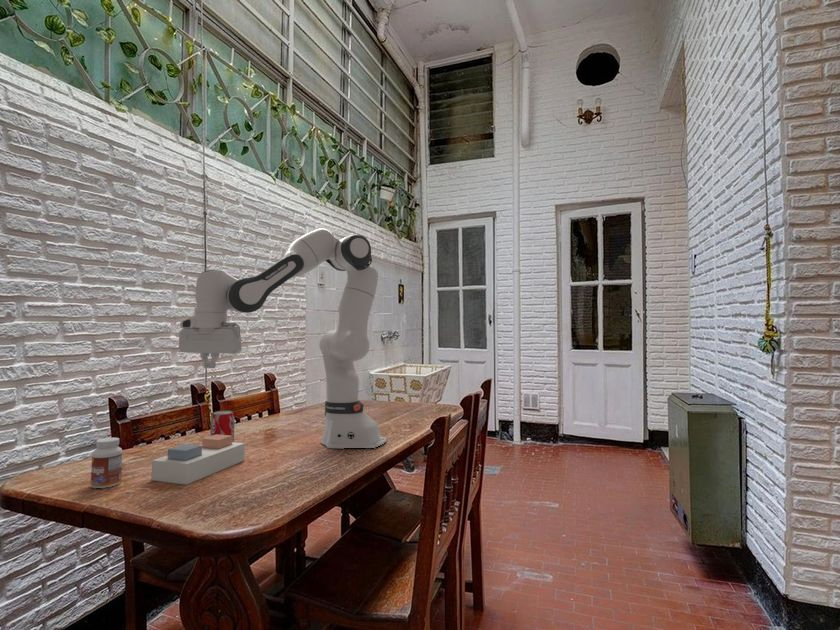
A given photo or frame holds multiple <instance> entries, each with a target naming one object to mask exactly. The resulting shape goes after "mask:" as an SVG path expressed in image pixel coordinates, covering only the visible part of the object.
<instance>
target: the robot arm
mask: <svg viewBox="0 0 840 630" xmlns="http://www.w3.org/2000/svg"><path fill="white" fill-rule="evenodd" d="M371 246H372V245H371V244H370V240H368V238H366V236H364V235H361V234H357V233H356V234H350V235H347V236H346V237H343V238H341V239H339V238H336V237H335V236H334V234H333V233H332V232H331V231H330V230H328V229H327V228H325V227H324V228H323V227H322V228H321V227H319V228H317V229H314V230H312V231H310V232H308V233H305V234H304V235H302V236H301V237H299V238H297V239H295V240H294V241H292V242H291V243H290V244H289V245H288V246H287V247H286V248H285V249H284V250H283V251H282V253H281V254H280V255H281V256H280V257H279V259H278V261H277V262H275V263H274V264H273V265H271V266H269V267H268V268H267V269H264V270H263V271H262V272H261V273H259V274H257V275H256V276H253V277H246V278H241V279H238V278H236V277H234V276H232V275H231V274H229V272H228V273H227V271H226V270H224V269H219V268H218V269H207V270H204V271H202V272H201V273H199V274H198V276H197V278H196V283H195V284H196V285H195V294H194V295H195V297H194V298H195V301H196V307H195V309H194V315H193V316H190V317H189V318H186V319H183V320H181V321H180V323H179V326H180V328H181V329H180V331H179V335H178V336H179V337H178V349H179V351H180V353H189V354H190V353H191V354H192V353H194V354H195V353H197V354H198V353H199V355H200V358H201V361H202V362H203V365H202V367H203V369H215V368H216V366H217V365H216V364H217V362H218V360H219V358H220V354H232V355H234V354H240V353H241V351H242V337H241V327H240V326H239V324H237V323H236V322H227V319H228V310H229V311H233V312H236V313H244V314H245V313H246V314H249V313H254V312H256V311H258V310H260V309H261V308H262V307H263V305H264V304H265V302H266V300H267V298H268V297H269V295H270V294H271V293H272V292H273V291H275V290H276V289H277V288H279V287H280V286H282V285H283V284H285V283H286V282H287V281H289V280H290V279H292V278H295V277H299V276H302V275H305V274H307V273H309V272H310V271H312V270H314V269H315V268H317V267H319V265H321V264H323V263H324V262H326V263H327V264H328V265H330V267H332V269H335V270H336V271H340V272H345V271H346V273H347V280H346V283H345V287H344V289H343V293H342V295H341V298H340V302H339V305H338V307H337V308H338V309H337V312H338V326H337V329H332V330H329V331H327V332H326V333H324V334H323V335H322V336H321V337H320V339H319V343H318V345H319V350H320V352H321V355H322V359H323V360H322V361H323V365H324V366H323V367H324V371H325V377H326V378H325V380H326V396H325V398H326V400H325V402H324V416H325V420H324V427H323V432H322V437H321V441H320V444H322V445H324V446H325V447H326V448H327V449H344V448H374V449H376V448H375V447H378V446H380V445H382V444H384V443H385V442H386V443H387V437H385V436H381V432H380V431H381V430H380V427H379V424H378V422H376V421H375V420H374V419H373V418H372V417H370V416H369V415H368V414H367V413H365V412H364V407H366V405H365V404H366V402H362V401H360V400H359V393H360V392H359V383H360V381H359V376H358V374H357V372H356V368H355V364H354V362H357V361H359V360H362V359H364V358H365V357H366V356H367V355H368V353H369V350H370V342H369V339H368V322H369V316H370V314H371V311H372V310H371V309H372V307H373V303H374V300H375V295H376V292H377V286H378V282H379V281H378V280H379V274H378V271H377V268H375V267H374V266H372V265H371V264H372V262H373V258H372V257H373V256H372V247H371ZM209 357H211V359H209ZM386 443H385V444H386ZM385 444H384V445H385ZM382 446H383V445H382ZM380 447H381V446H380ZM378 448H379V447H378Z"/></svg>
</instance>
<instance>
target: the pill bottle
mask: <svg viewBox="0 0 840 630" xmlns="http://www.w3.org/2000/svg"><path fill="white" fill-rule="evenodd" d="M119 445H120V438H119V437H105V438H104V437H103V438H99V439H97V440H96V442H95V446H96V449H94V451H92V453H91V471H90V487H91V488H92V489H96V488H102V489H107V488H106V487H109V488H113V487H115V485H116V486H117V485H119V484H120V483H121V482H122V470H123V469H122V468H123V449H122V448H121V447H120V446H119ZM112 486H113V487H112Z"/></svg>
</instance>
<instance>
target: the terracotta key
mask: <svg viewBox="0 0 840 630" xmlns="http://www.w3.org/2000/svg"><path fill="white" fill-rule="evenodd" d="M201 444H202V448H209V449H221V448H224V447H227V446H230V445H232V436H230V435H217V434H216V435H213V436H210V435H209V436H207V437H203V438H202V439H201Z"/></svg>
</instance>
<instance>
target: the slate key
mask: <svg viewBox="0 0 840 630" xmlns="http://www.w3.org/2000/svg"><path fill="white" fill-rule="evenodd" d="M167 455H168V459H169V460H179V461H187V460H190V459H193V458H196V457H199V456H202V445H201V444H192V443H191V444H188V443H183V444H180V445H177V446H174V447H171V448H168V449H167Z"/></svg>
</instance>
